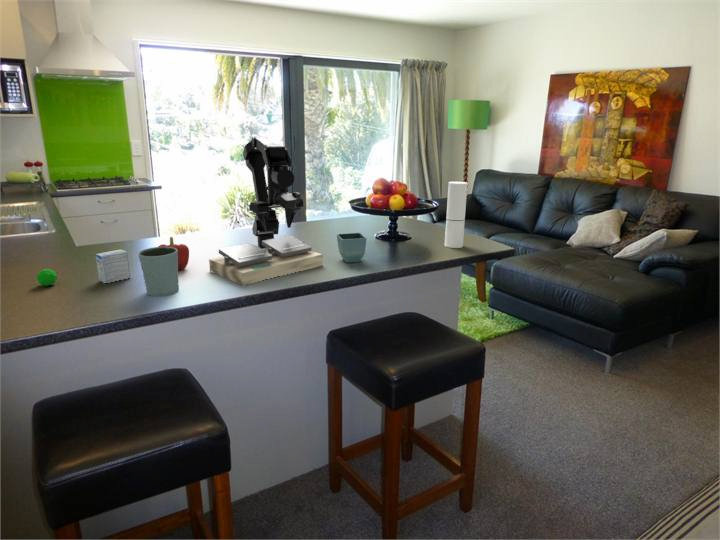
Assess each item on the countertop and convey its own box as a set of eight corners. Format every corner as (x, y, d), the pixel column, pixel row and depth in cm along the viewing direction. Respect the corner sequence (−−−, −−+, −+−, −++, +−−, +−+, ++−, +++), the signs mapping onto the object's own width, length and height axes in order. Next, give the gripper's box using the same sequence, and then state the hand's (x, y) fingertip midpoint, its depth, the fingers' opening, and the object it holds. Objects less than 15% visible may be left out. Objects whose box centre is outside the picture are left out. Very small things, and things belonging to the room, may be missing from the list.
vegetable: (157, 266, 163) (154, 236, 160) (190, 263, 166) (187, 234, 163) (156, 275, 153) (153, 244, 150) (191, 272, 157) (188, 242, 154)
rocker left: (218, 253, 154) (218, 248, 154) (251, 246, 162) (251, 242, 162) (239, 266, 147) (239, 262, 146) (272, 259, 155) (272, 254, 154)
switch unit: (210, 271, 158) (208, 251, 156) (287, 254, 179) (286, 236, 177) (243, 285, 144) (241, 264, 142) (322, 265, 165) (322, 246, 163)
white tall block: (461, 243, 197) (466, 181, 190) (463, 248, 190) (468, 183, 183) (443, 243, 198) (447, 181, 190) (445, 247, 191) (449, 183, 183)
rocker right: (261, 244, 165) (261, 240, 164) (290, 239, 173) (290, 235, 173) (282, 257, 158) (282, 253, 157) (311, 251, 166) (311, 246, 165)
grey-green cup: (186, 285, 144) (182, 246, 140) (174, 297, 134) (170, 255, 131) (151, 285, 143) (146, 246, 140) (137, 297, 134) (132, 255, 130)
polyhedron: (36, 285, 143) (33, 269, 142) (55, 281, 146) (52, 266, 145) (41, 289, 140) (37, 273, 138) (60, 285, 143) (57, 270, 141)
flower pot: (342, 264, 166) (342, 239, 164) (336, 258, 175) (336, 233, 172) (366, 263, 169) (367, 238, 166) (359, 256, 177) (360, 232, 174)
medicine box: (124, 275, 153) (121, 249, 150) (131, 278, 150) (128, 251, 147) (98, 281, 147) (94, 253, 144) (105, 284, 144) (101, 256, 142)
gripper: (266, 188, 150) (268, 237, 155) (313, 183, 163) (314, 229, 168) (247, 185, 158) (249, 232, 163) (293, 180, 171) (294, 224, 175)
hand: (278, 229), depth 167 cm, fingers open, 9 cm apart
